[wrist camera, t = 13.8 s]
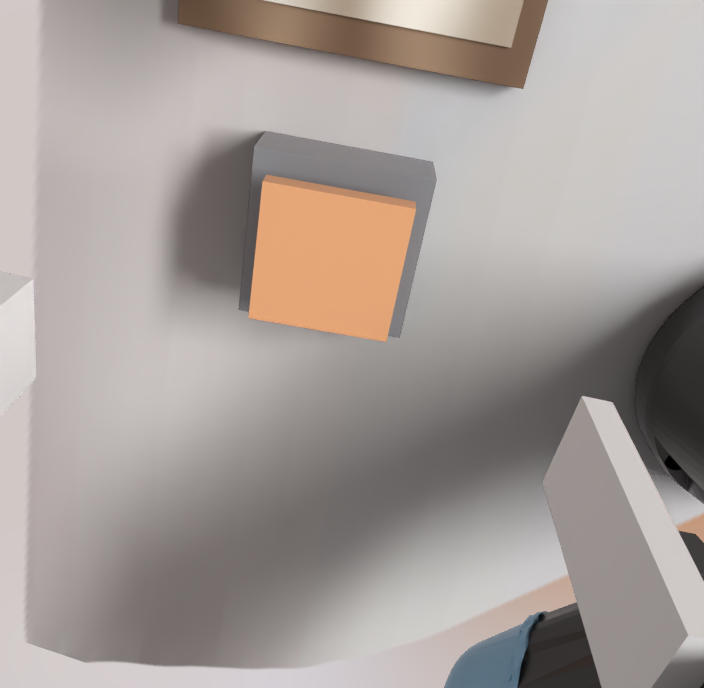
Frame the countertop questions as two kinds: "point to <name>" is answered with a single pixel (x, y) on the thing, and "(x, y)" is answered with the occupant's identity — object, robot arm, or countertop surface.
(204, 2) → the drawing board
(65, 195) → the countertop surface
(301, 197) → the button
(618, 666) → the robot arm
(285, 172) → the button housing
